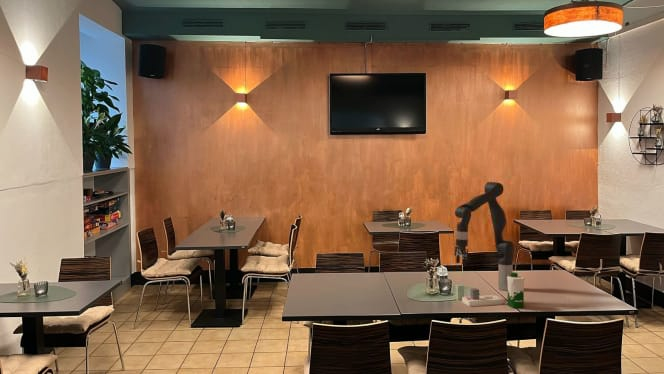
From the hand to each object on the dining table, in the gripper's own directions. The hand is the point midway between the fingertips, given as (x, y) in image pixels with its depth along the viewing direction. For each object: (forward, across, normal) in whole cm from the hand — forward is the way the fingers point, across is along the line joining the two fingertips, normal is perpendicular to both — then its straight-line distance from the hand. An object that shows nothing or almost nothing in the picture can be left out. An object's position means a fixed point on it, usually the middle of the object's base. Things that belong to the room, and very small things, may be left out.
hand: (460, 264), depth 359 cm
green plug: (+23, +1, -1) cm, 23 cm away
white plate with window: (+22, -12, -10) cm, 27 cm away
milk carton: (+22, -25, -25) cm, 42 cm away
